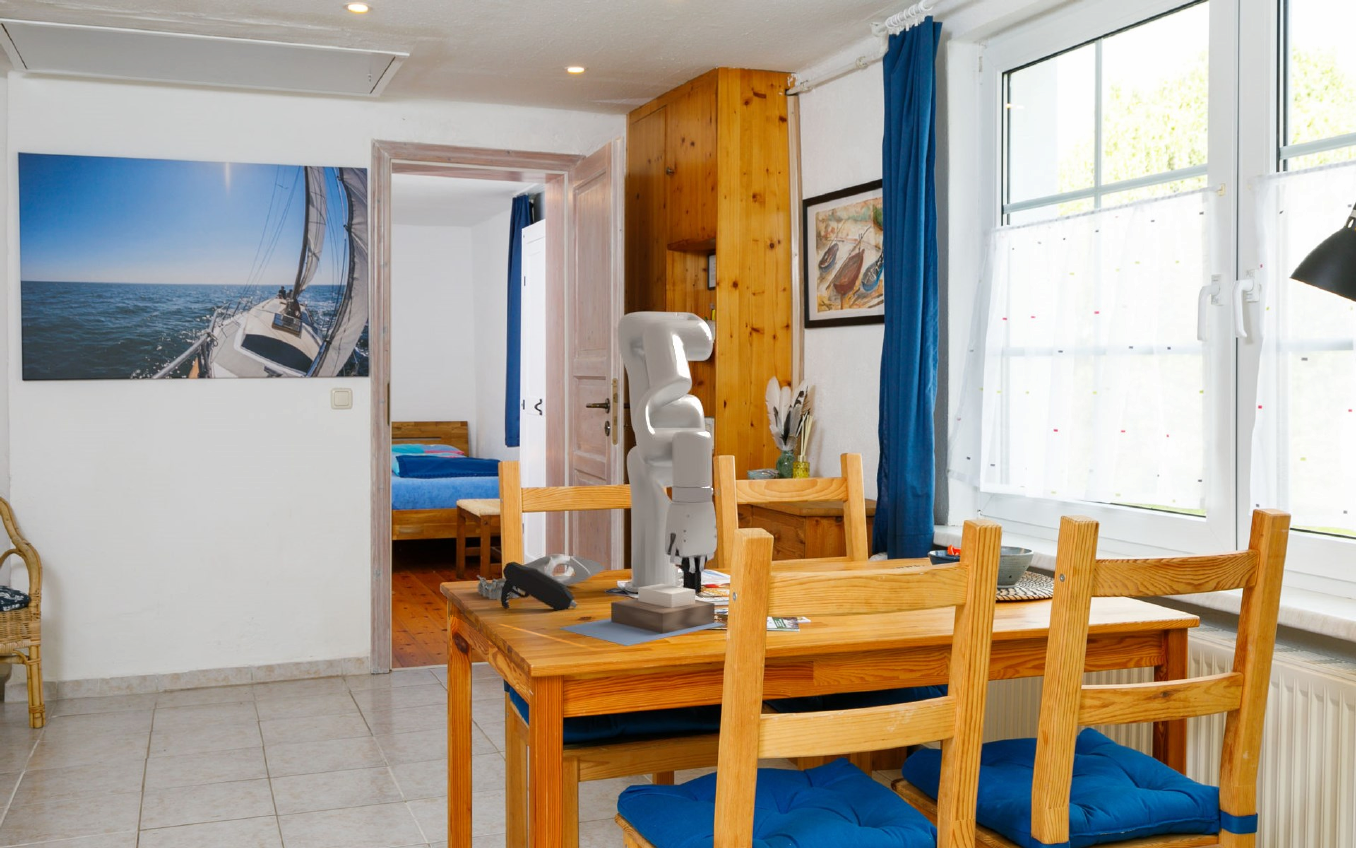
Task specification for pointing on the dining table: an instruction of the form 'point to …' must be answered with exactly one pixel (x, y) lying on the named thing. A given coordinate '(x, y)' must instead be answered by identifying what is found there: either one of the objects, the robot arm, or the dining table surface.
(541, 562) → the sculpture
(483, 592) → the grey castle ruin model
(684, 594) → the tile
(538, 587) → the gun
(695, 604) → the block
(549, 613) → the dining table surface
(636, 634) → the placemat
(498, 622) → the dining table surface
